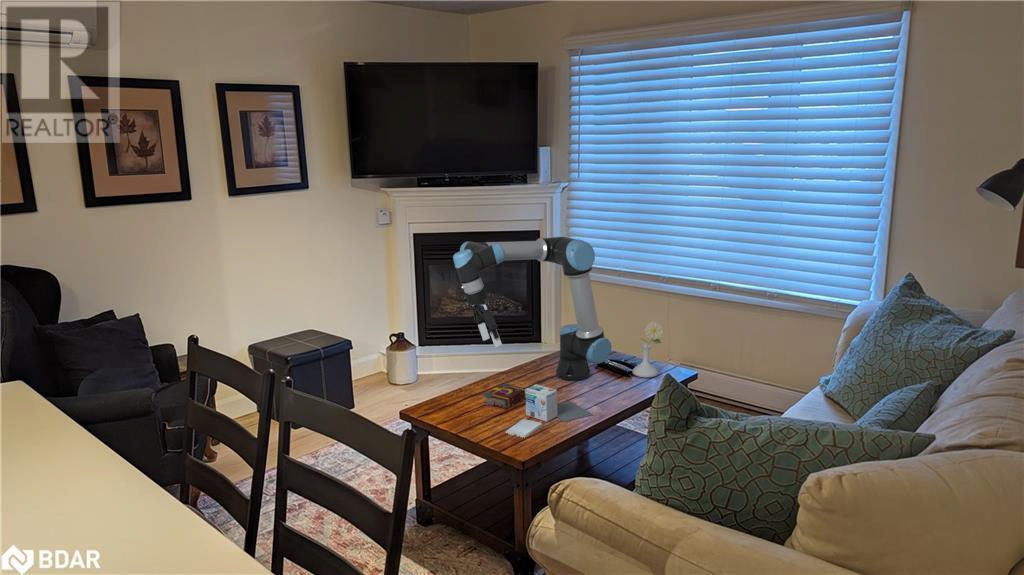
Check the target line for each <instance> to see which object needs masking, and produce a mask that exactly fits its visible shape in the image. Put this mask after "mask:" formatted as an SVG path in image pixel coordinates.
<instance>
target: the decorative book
mask: <svg viewBox="0 0 1024 575" xmlns="http://www.w3.org/2000/svg"><path fill="white" fill-rule="evenodd" d="M525 389H526V388H525V387H520V386H516V385H513V384H510V383H506V382H505V383H503V384H501V385H499V386H498V387H495V388H493V389H492V390H490V391H487V392H485V393H483V397H484V398H485V401H484V402H483V405H484V406H485V405H487V406H490V407H492V406H493V407H495V408H496V407H497V408H500V409H505V410H508V409H510V408H511V407H512V408H513V407H515V405H517V404H519V403H522V402H524V401H525V400H526V394H525ZM523 400H524V401H523Z"/></svg>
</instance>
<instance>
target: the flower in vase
mask: <svg viewBox="0 0 1024 575" xmlns="http://www.w3.org/2000/svg"><path fill="white" fill-rule="evenodd" d="M645 326H646V327H645V329H644V333H645V336H646V337H647V338H648V339H650V341H649V342H648V341H647V340H644V339H642V338H641V340H642V341H644V342H646V343H643V344H640V348H641V349H642V361H641V362H640V363H639V364H637V365H636V366H635V367H634V368H633V369H632V371H631V372H632V374H633V375H634V376H637V377H640V378H645V379H648V378H654V377H656V376H658V375H659V371H658V369H657V368H656V367H655V366H654V365H653V364H652V363H650V359H649V355H650V351H651V349H652V347H653V345H651V342H653V344H655V345H659V344H662V341H661V340H660V338H662V336H663V335H664V329H663V326H662V324H661V323H658V322H656V321H652V322H650V323H648V324H646V325H645Z"/></svg>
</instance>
